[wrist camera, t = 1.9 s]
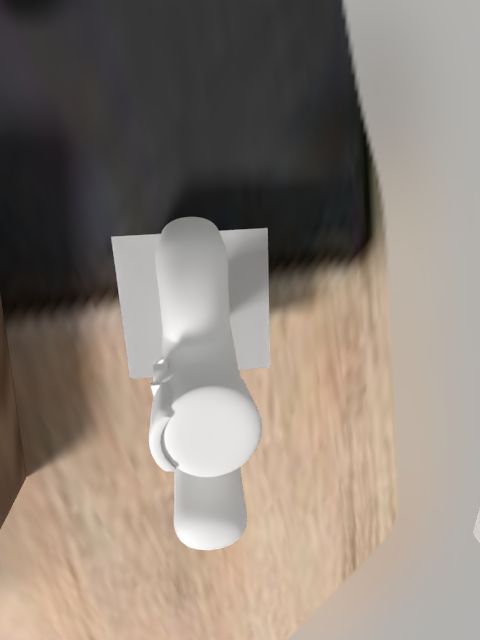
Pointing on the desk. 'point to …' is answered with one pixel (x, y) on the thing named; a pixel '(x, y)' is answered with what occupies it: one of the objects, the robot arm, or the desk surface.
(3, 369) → the wooden tray
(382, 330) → the desk surface
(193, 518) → the figurine
